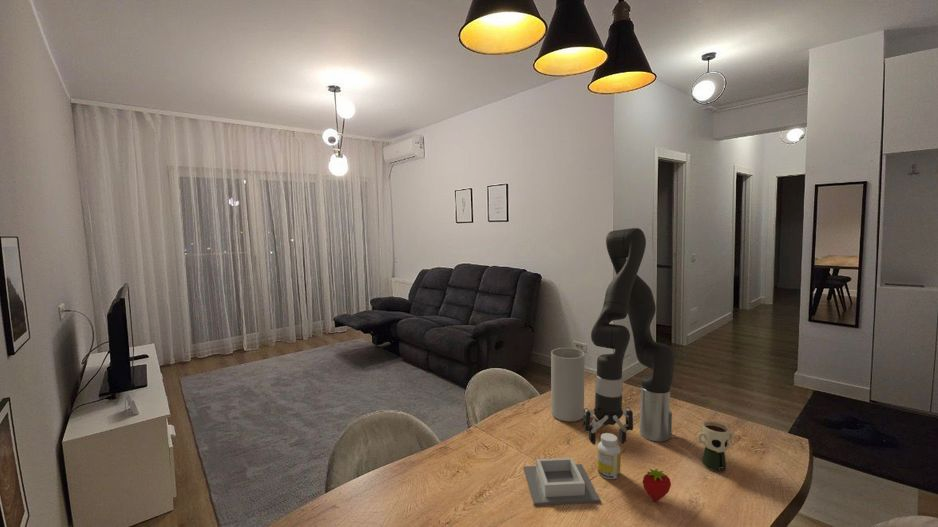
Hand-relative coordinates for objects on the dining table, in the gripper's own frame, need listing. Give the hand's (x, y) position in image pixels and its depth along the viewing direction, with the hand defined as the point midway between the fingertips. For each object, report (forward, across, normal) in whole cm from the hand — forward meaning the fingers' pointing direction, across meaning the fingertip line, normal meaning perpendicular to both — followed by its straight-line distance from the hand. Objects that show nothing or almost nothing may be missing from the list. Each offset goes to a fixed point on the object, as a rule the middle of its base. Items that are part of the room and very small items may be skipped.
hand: (607, 442), depth 120 cm
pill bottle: (+10, -1, 0) cm, 10 cm away
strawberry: (+10, -9, +13) cm, 18 cm away
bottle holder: (+10, +15, +4) cm, 19 cm away
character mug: (+9, -34, -1) cm, 35 cm away
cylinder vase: (+10, +2, -37) cm, 38 cm away
